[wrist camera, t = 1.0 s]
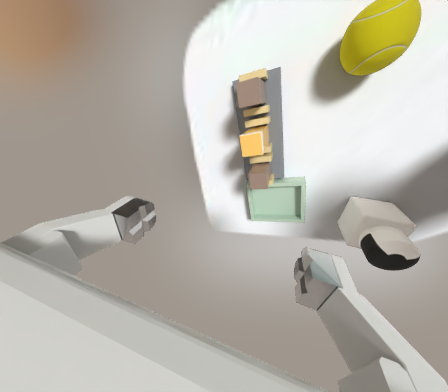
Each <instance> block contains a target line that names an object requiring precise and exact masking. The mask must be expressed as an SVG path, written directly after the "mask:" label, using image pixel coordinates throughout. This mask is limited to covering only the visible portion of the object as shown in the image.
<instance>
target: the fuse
mask: <svg viewBox="0 0 448 392" xmlns="http://www.w3.org/2000/svg"><path fill="white" fill-rule="evenodd" d="M239 137H240V144H241V151H242V157H248V156H257V155H263V154H264V151H265V149H266V147H267V144H268V142H269V132H268V124H266V125H261V126H255V127H251V128H250V129H249V130H247V131H246V132H245V133H243V134H241V135H240V136H239Z"/></svg>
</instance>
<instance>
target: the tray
mask: <svg viewBox="0 0 448 392" xmlns="http://www.w3.org/2000/svg"><path fill="white" fill-rule="evenodd" d="M246 188H247V195H248V201H249V208H250V215H251V221H272V222H298V223H305V196H306V180H305V177H291V178H274V182H273V185H268V189H252V190H250V183H249V180H248V182H247V184H246Z"/></svg>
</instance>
